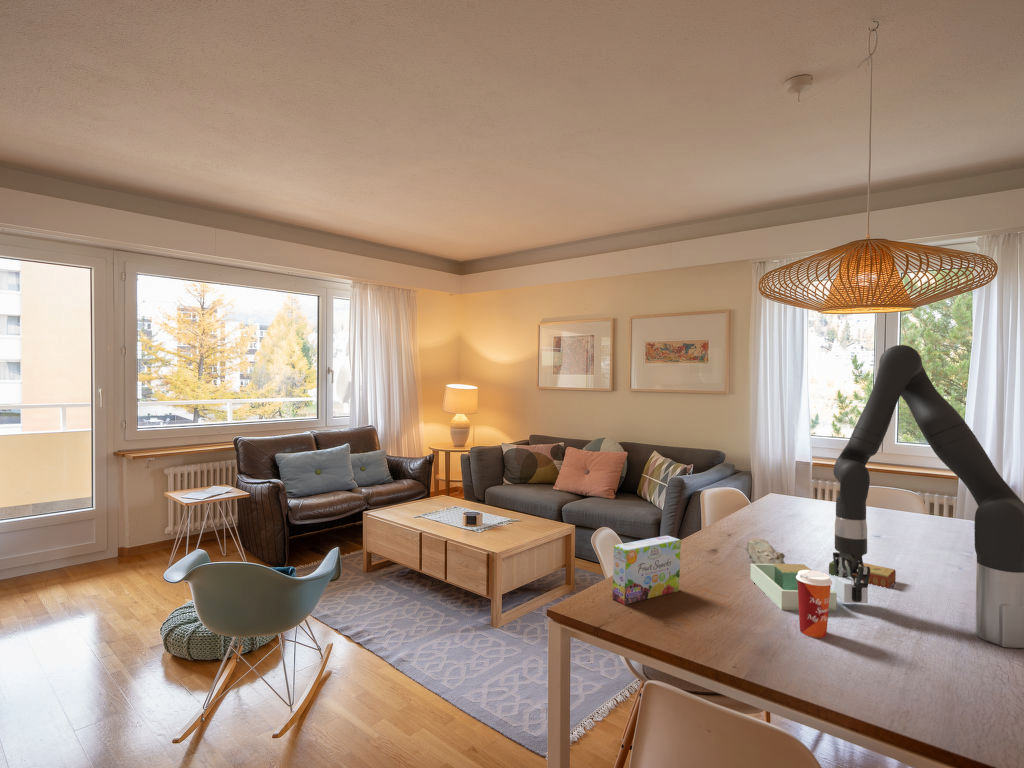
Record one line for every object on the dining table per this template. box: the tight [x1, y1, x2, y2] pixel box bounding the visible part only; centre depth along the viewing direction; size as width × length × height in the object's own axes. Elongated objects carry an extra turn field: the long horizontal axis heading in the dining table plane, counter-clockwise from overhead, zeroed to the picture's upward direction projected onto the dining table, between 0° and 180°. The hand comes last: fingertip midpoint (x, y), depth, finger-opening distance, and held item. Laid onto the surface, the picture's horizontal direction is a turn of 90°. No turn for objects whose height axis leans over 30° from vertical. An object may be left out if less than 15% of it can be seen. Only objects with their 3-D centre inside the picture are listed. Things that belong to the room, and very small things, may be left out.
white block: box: [833, 576, 869, 604], centre depth 150 cm, size 5×6×5 cm
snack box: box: [612, 535, 682, 606], centre depth 156 cm, size 21×6×15 cm, turn 122°
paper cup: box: [796, 569, 833, 639], centre depth 134 cm, size 8×8×14 cm
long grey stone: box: [745, 538, 786, 564], centre depth 189 cm, size 35×5×10 cm
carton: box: [828, 560, 897, 589], centre depth 172 cm, size 8×16×4 cm, turn 43°
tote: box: [749, 563, 837, 613], centre depth 158 cm, size 22×14×5 cm, turn 177°
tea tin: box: [774, 563, 812, 590], centre depth 157 cm, size 6×8×7 cm
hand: (850, 597), depth 150 cm, fingers closed on white block, 5 cm apart
